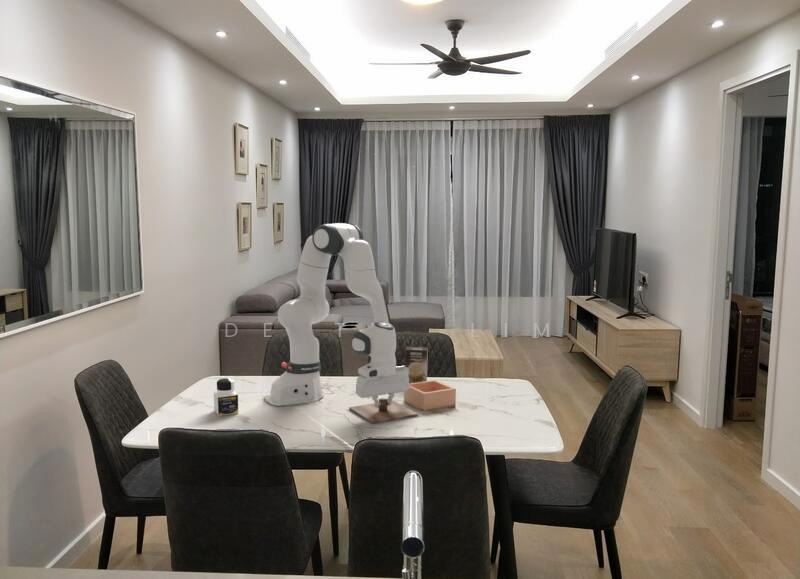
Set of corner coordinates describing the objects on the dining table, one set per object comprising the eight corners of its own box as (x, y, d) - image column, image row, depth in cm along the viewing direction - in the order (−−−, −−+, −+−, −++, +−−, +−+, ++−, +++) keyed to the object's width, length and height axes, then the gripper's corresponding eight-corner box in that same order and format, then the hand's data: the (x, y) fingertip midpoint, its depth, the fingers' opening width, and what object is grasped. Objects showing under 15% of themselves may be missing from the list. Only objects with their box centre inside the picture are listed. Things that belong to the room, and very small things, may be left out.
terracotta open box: (423, 412, 235) (424, 393, 234) (404, 402, 247) (404, 384, 246) (455, 406, 242) (455, 388, 241) (434, 397, 254) (435, 379, 253)
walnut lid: (372, 423, 220) (372, 410, 219) (349, 409, 235) (349, 396, 234) (417, 415, 229) (417, 402, 228) (392, 402, 244) (392, 389, 243)
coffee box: (404, 387, 267) (404, 349, 265) (405, 383, 273) (406, 346, 271) (426, 388, 266) (427, 350, 264) (427, 384, 272) (428, 347, 270)
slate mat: (371, 427, 218) (371, 425, 218) (345, 411, 235) (345, 409, 235) (422, 418, 228) (422, 416, 228) (393, 403, 246) (393, 401, 245)
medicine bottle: (218, 416, 228) (217, 383, 227) (214, 410, 235) (213, 378, 233) (238, 413, 232) (237, 380, 230) (233, 407, 238) (233, 376, 237)
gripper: (404, 363, 238) (403, 399, 240) (354, 369, 227) (353, 407, 229) (413, 366, 232) (412, 404, 234) (362, 373, 222) (361, 412, 224)
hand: (383, 406), depth 232 cm, fingers closed on walnut lid, 3 cm apart
